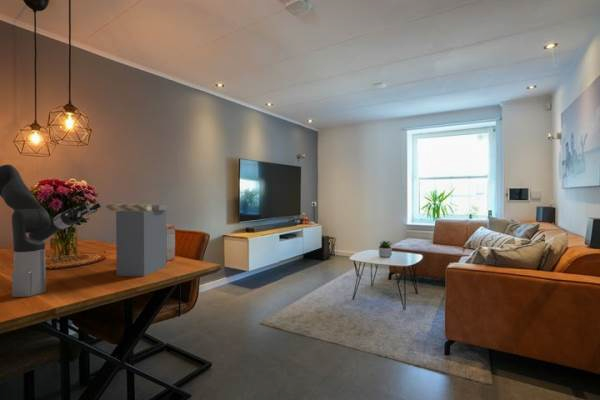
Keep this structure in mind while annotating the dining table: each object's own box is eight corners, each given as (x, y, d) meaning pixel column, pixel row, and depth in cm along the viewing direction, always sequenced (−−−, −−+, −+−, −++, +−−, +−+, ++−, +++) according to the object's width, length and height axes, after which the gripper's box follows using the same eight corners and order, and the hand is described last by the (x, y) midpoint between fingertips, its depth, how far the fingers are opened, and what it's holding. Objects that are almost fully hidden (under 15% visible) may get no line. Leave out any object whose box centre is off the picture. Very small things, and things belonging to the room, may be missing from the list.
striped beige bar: (151, 210, 150) (151, 204, 150) (146, 210, 146) (146, 204, 146) (110, 209, 151) (110, 203, 151) (104, 210, 147) (104, 204, 147)
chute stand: (169, 266, 163) (168, 205, 162) (147, 276, 143) (147, 206, 142) (141, 265, 164) (141, 204, 164) (116, 275, 145) (116, 206, 144)
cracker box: (175, 259, 180) (175, 224, 179) (166, 261, 175) (166, 225, 174) (161, 256, 187) (161, 223, 187) (152, 258, 182) (152, 224, 182)
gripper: (51, 213, 144) (78, 199, 143) (76, 210, 159) (101, 197, 157) (57, 227, 144) (85, 213, 143) (82, 223, 159) (107, 210, 157)
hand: (93, 205), depth 150 cm, fingers open, 8 cm apart
